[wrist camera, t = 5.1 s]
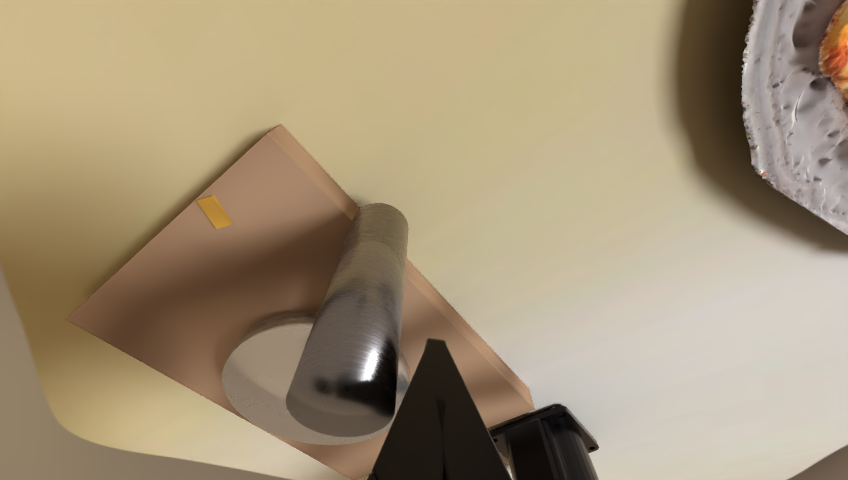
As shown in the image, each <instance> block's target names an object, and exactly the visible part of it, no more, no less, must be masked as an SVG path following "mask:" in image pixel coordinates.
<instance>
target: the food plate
mask: <svg viewBox="0 0 848 480" xmlns="http://www.w3.org/2000/svg"><path fill="white" fill-rule="evenodd" d="M753 3H754V5H753V7H752V9H753V11H754V14H753V15H752V16H751V17H750V19H749V21H751V22H752V23H751V24H750V25H749V27H750V28H749V29H748V30H750V31H749V32H748V33H747V35H746V39H745V42H746V43H747V44H748V45H747V47H746V48H745V50H744V52H743V59H742V60H743V61H744V65H742V66H741V67H743V69H744V70H743V71H742V72H741V73H743V75H742V76H741V77H742V83H743V85H742V86H741V87H742V92H741V95H742V101H741V104H743V107H745V108H744V109H743V111H744V114H743V116H742V117H743V120H744V121H743V122H744V127H746V128H745V129H746V132H747V133H746V134H747V140H748V143H749V144H750V150H751V156H752V157H751V159H752V162H751V164H752V168H754V169H756V170H754V171H756V173H757V174H759V175H760V176H762V178H763V179H767V180H768V181H770V183H771V184H774V185H773V186H771V185H770V184H769V185H770V186H771V187H772V188H774V189H775V190H777V191H778V192H780V191H781V192H780V193H781V194H783V195H784V196H786V197H787V198H789V199H791V200H793V201H795V202H796V203H798V204H799V205H800V206H802V207H804V208H806V209H807V210H809V211H810V212H811V213H813V214H814V215H815V216H817V217H818V218H820V219H822V220H824V221H825V222H827V223H828V224H829V225H831V226H832V227H835V228H836V229H838V230H839V231H841V232H843V233H844V234H846V235H847V236H848V0H753ZM745 121H746V123H745ZM755 176H757V175H756V174H755ZM759 178H760V177H759ZM768 178H769V179H768ZM760 179H761V178H760ZM763 181H764V180H763ZM764 182H765V181H764ZM766 183H767V182H766ZM767 184H768V183H767ZM775 186H776V187H775Z"/></svg>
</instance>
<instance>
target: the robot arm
mask: <svg viewBox="0 0 848 480" xmlns="http://www.w3.org/2000/svg"><path fill="white" fill-rule="evenodd" d="M598 448H599V446H598V444H597V442H596V440H595V439H594V438H593V437H592V436H591V434H590V433H589V432H588V431H587V430H586V429H585V428H584V427H583V425H582V424H581V423H580V422H579V421H578V420H577V419H576V417H575V416H574V415H573V414H572V413H571V412H570V411H569V410H568V408H567V407H565V406H558V407H555V408H552V409H550V410H547V411H544V412H542V413H539V414H537V415H534V416H532V417H529V418H526V419H524V420H521V421H519V422H516V423H513V424H511V425H508V426H506V427H503V428H500V429H498V430H495V431H493V432H490V433H489V431H488V429H487V427H486V425H485V423H484V421H483V419H482V417H481V415H480V413H479V411H478V409H477V407H476V405H475V403H474V401H473V398H472V396H471V394H470V392H469V390H468V388H467V386H466V384H465V382H464V380H463V378H462V376H461V374H460V372H459V370H458V368H457V366H456V363H455V361H454V359H453V357H452V355H451V353H450V351H449V349H448V347H447V343H446V341H445V340H443V339H436V338H428V339H427V340H426V344H425V348H424V352H423V355H422V357H421V359H420V361H419V364H418V366H417V368H416V371H415V373H414V375H413V377H412V380H411V382H410V384H409V386H408V389H407V391H406V393H405V396H404V398H403V400H402V402H401V405H400V407H399V409H398V412H397V414H396V416H395V418H394V421H393V423H392V425H391V427H390V430H389V432H388V434H387V437H386V439H385V441H384V443H383V446H382V448H381V450H380V453H379V455H378V457H377V459H376V462H375V464H374V466H373V468H372V472H371V474H370V475H369V477H368V479H367V480H512V479H511V477H510V475H509V473H508V471H507V468H506V466H505V464H504V462H503V460H502V458H501V456H500V454H499V452H501V453H502V454H503V455H504V456H505V457H507V458H508V459H509V463H510V468H511V473H512V478H513V480H599V479H598V477H597V474H596V471H595V469H594V466H593V464H592V461H591V459H590V456H589V454H588V453H590V452H593V451H596V450H597V449H598ZM498 451H499V452H498Z"/></svg>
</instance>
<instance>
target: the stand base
mask: <svg viewBox="0 0 848 480" xmlns="http://www.w3.org/2000/svg"><path fill="white" fill-rule="evenodd" d="M359 210H360V208H359V207H358V206H357V205H356V204H355V202H354V201H353V200H352V199H351V198H350V197H349V196H348V195H347V194H346V193H345V192H344V191H343V190H342V189H341V188H340V186H339V185H338V184H337V183H336V182H335V181H334V180H333V179H332V178H331V177H330V176H329V175H328V174H327V173H326V171H325V170H324V169H323V168H322V167H321V166H320V165H319V164H318V163H317V162H316V161H315V160H314V159H313V158H312V157H311V155H310V154H309V153H308V152H307V151H306V150H305V149H304V148H303V147H302V146H301V145H300V144H299V143H298V142H297V140H296V139H295V138H294V137H293V136H292V135H291V134H290V133H289V132H288V131H287V130H286V129H285V128H284V127H283V126H282V124H281V125H279V126H278V127H276V128H275V129H273V130H271V131H270V132H268V133H267V134H266V135H265V136H264V137H263V138H261V139H260V140H259V141H258V142H257V143H256V144H255V145H254V146H253V147H252V148H251V149H250V150H248V151H247V152H246V153H245V154H244V155H243V156H242V157H241V158H240V159H239V160H238V161H237V162H235V163H234V164H233V165H232V166H231V167H230V168H229V169H228V170H227V171H226V172H225V173H224V174H222V175H221V176H220V177H219V178H218V179H217V180H216V181H215V182H214V183H213V184H212V185H211V186H209V187H208V188H207V189H206V190H205V191H204V192H203V193H202V194H201V195H200V196H199V197H198V198H196V199H195V200H194V201H193V202H192V203H191V204H190V205H189V206H188V207H187V208H186V209H185V210H183V211H182V212H181V213H180V214H179V215H178V216H177V217H176V218H175V219H174V220H173V221H172V222H170V223H169V224H168V225H167V226H166V227H165V228H164V229H163V230H162V231H161V232H160V233H159V234H157V235H156V236H155V237H154V238H153V239H152V240H151V241H150V242H149V243H148V244H147V245H146V246H144V247H143V248H142V249H141V250H140V251H139V252H138V253H137V254H136V255H135V256H134V257H132V258H131V259H130V260H129V261H128V262H127V263H126V264H125V265H124V266H123V267H122V268H121V269H119V270H118V271H117V272H116V273H115V274H114V275H113V276H112V277H111V278H110V279H109V280H108V281H106V282H105V283H104V284H103V285H102V286H101V287H100V288H99V289H98V290H97V291H96V292H95V293H93V294H92V295H91V296H90V297H89V298H88V299H87V300H86V301H85V302H84V303H83V304H82V305H80V306H79V307H78V308H77V309H76V310H75V311H74V312H73V313H72V314H71V315H70V316H69V317H67V318H66V320H68V321H70V322H71V323H73V324H75V325H77V326H79V327H80V328H82V329H84V330H86V331H88V332H89V333H91V334H93V335H95V336H96V337H98V338H100V339H102V340H104V341H105V342H107V343H109V344H111V345H113V346H114V347H116V348H118V349H120V350H121V351H123V352H125V353H127V354H129V355H130V356H132V357H134V358H136V359H137V360H139V361H141V362H143V363H145V364H146V365H148V366H150V367H152V368H154V369H155V370H157V371H159V372H161V373H162V374H164V375H166V376H168V377H170V378H171V379H173V380H175V381H177V382H179V383H180V384H182V385H184V386H186V387H187V388H189V389H191V390H193V391H195V392H196V393H198V394H200V395H202V396H204V397H205V398H207V399H209V400H211V401H212V402H214V403H216V404H218V405H220V406H221V407H223V408H225V409H227V410H229V411H230V412H232V413H234V414H236V415H237V416H239V417H241V418H243V419H245V420H246V421H248V420H247V419H246V418H244V417H243V416H242V415H241V414H240V413H239V412H238V411H237V410H236V409H235V408H234V407H233V406H232V405H231V403H230V402H229V400H228V398H227V397H226V395H225V392H224V390H223V385H222V372H223V368H224V365H225V363H226V361H227V359H228V358H229V356H230V354H231V353H232V351H233V349H234V348H235V346H236V344H237V343H238V341H239V340H240V338H241V337H242V336H243V335H244V334H245V333H246V332H247V331H248V330H249V329H250V328H252V327H253V326H255V325H257V324H258V323H260V322H262V321H265V320H267V319H269V318H272V317H276V316H280V315H284V314H290V313H300V312H317V313H318V310H319V308H320V305H321V302H322V300H323V297H324V294H325V292H326V289H327V286H328V284H329V281H330V278H331V276H332V273H333V270H334V268H335V265H336V262H337V260H338V257H339V254H340V252H341V249H342V246H343V244H344V241H345V238H346V236H347V233H348V231H349V228H350V225H351V223H352V220H353V217H354V216H355V214H356V213H357V211H359ZM428 338H436V339H443V340H445V341H446V343H447V347H448V349H449V351H450V353H451V355H452V357H453V359H454V361H455V363H456V366H457V368H458V370H459V372H460V374H461V376H462V378H463V380H464V382H465V384H466V386H467V388H468V390H469V392H470V394H471V396H472V398H473V401H474V403H475V405H476V407H477V409H478V411H479V413H480V415H481V417H482V419H483V421H484V423H485V425H486V427H487V428H489V427H492V426H494V425H497V424H499V423H502V422H504V421H507V420H509V419H512V418H515V417H517V416H520V415H522V414H525V413H527V412H530V411H532V410H535V408H534V404H533V401H532V398H531V394H530V391H529V388H528V387H527V386H526V385H525V384H524V383H523V382H522V381H521V380H520V379H519V378H518V377H517V376H516V374H515V373H514V372H513V371H512V370H511V369H510V368H509V367H508V366H507V365H506V364H505V363H504V362H503V361H502V360H501V358H500V357H499V356H498V355H497V354H496V353H495V352H494V351H493V350H492V349H491V348H490V347H489V346H488V345H487V344H486V342H485V341H484V340H483V339H482V338H481V337H480V336H479V335H478V334H477V333H476V332H475V331H474V330H473V329H472V327H471V326H470V325H469V324H468V323H467V322H466V321H465V320H464V319H463V318H462V317H461V316H460V315H459V314H458V313H457V311H456V310H455V309H454V308H453V307H452V306H451V305H450V304H449V303H448V302H447V301H446V300H445V299H444V298H443V296H442V295H441V294H440V293H439V292H438V291H437V290H436V289H435V288H434V287H433V286H432V285H431V284H430V283H429V282H428V280H427V279H426V278H425V277H424V276H423V275H422V274H421V273H420V272H419V271H418V270H417V269H416V268H415V267H414V266H413V264H412V263H411V262H410V261H409V260H408V259H407V258H406V270H405V283H404V297H403V311H402V324H401V338H400V351H401V352H402V353H403V355H404V357H405V358H406V360H407V363H408V365H409V368H410V374H411V380H412V377H413V375H414V373H415V371H416V368H417V366H418V364H419V361H420V359H421V357H422V355H423V352H424V348H425V344H426V340H427V339H428ZM410 382H411V381H410ZM248 422H250V421H248ZM250 423H251V422H250ZM252 424H253V423H252ZM253 425H254V424H253ZM255 426H256V425H255ZM257 427H258V426H257ZM259 428H260V427H259ZM262 430H263V429H262ZM264 431H266V430H264ZM266 432H268V431H266ZM388 432H389V431H387V432H385V433H383V434H382V435H380V436H377V437H375V438H372V439H369V440H365V441H362V442H357V443H351V444H343V445H320V444H310V443H304V442H298V441H294V440H290V439H287V438H283V437H280V436H277V435H275V434H272V433H270V432H268V433H270V434H271V435H273V436H275V437H277V438H278V439H280V440H282V441H284V442H286V443H287V444H289V445H291V446H293V447H295V448H296V449H298V450H300V451H302V452H303V453H305V454H307V455H309V456H311V457H312V458H314V459H316V460H318V461H320V462H321V463H323V464H325V465H327V466H328V467H330V468H332V469H334V470H336V471H337V472H339V473H341V474H343V475H345V476H346V477H348V478H350V479H352V480H356V479H359V478H361V477H364V476H366V475H369V474H371V472H372V468H373V466H374V464H375V462H376V459H377V457H378V455H379V453H380V450H381V448H382V446H383V443H384V441H385V439H386V437H387V434H388Z"/></svg>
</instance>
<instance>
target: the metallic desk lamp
mask: <svg viewBox="0 0 848 480" xmlns="http://www.w3.org/2000/svg"><path fill="white" fill-rule="evenodd" d="M407 243H408V223H407V221H406V218H405V217H404V215H403V214H402V213H401V212H400V211H399V210H398V209H396V208H394V207H393V206H390V205H387V204H383V203H373V204H369V205H366V206H364V207H362V208H361V209H360V210H359V211H357V213H356V214H355V216H354V217H353V220H352V223H351V225H350V228H349V231H348V233H347V236H346V238H345V241H344V244H343V246H342V249H341V252H340V254H339V257H338V260H337V262H336V265H335V268H334V270H333V273H332V276H331V278H330V281H329V284H328V286H327V289H326V292H325V294H324V297H323V300H322V302H321V305H320V308H319V310H318V313H317V312H300V313H290V314H284V315H280V316H276V317H272V318H269V319H267V320H265V321H262V322H260V323H258V324H257V325H255V326H253V327H252V328H250V329H249V330H248V331H247V332H246V333H245V334H244V335H243V336H242V337H241V338H240V340H239V341H238V343H237V344H236V346H235V348H234V349H233V351H232V353H231V354H230V356H229V358H228V359H227V361H226V363H225V365H224V368H223V372H222V385H223V390H224V392H225V395H226V397H227V398H228V400H229V402H230V403H231V405H232V406H233V407H234V408H235V409H236V410H237V411H238V412H239V413H240V414H241V415H242V416H243V417H244V418H246V419H247V420H248V421H250V422H251V423H253V424H254V425H256V426H258V427H260V428H261V429H263V430H266V431H268V432H270V433H272V434H275V435H277V436H280V437H283V438H287V439H290V440H294V441H298V442H304V443H310V444H320V445H343V444H351V443H357V442H362V441H365V440H369V439H372V438H375V437H377V436H380V435H382V434H383V433H385V432H387V431H389V430H390V427H391V425H392V423H393V421H394V418H395V416H396V414H397V412H398V409H399V407H400V405H401V402H402V400H403V398H404V396H405V393H406V391H407V389H408V386H409V384H410V381H411V374H410V368H409V365H408V363H407V360H406V358H405V357H404V355H403V353H402V352H401V351H400V338H401V324H402V311H403V297H404V283H405V270H406V256H407Z"/></svg>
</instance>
